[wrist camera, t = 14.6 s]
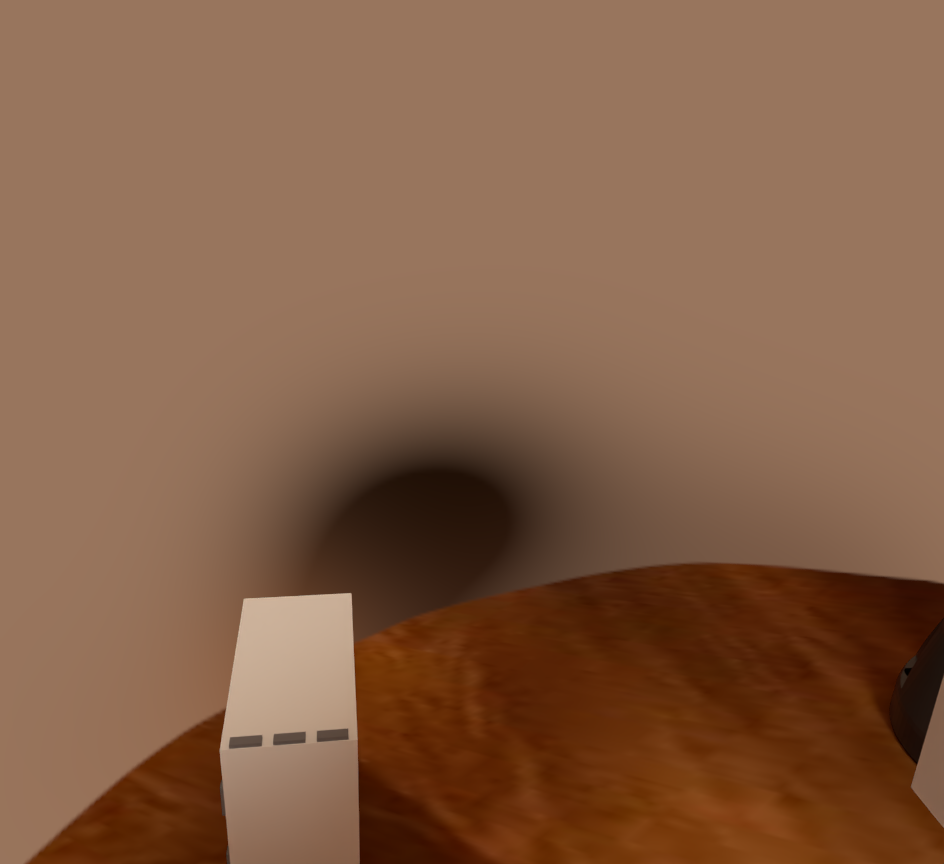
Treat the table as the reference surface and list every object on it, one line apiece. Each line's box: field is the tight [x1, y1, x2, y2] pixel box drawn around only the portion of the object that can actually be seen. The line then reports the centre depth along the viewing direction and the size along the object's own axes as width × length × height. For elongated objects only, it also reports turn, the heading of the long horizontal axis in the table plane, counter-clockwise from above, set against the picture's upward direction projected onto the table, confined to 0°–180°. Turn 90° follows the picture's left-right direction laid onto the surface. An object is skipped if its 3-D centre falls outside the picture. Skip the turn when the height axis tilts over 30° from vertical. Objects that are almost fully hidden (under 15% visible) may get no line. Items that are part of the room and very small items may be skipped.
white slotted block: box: [220, 593, 360, 864], centre depth 46 cm, size 6×12×12 cm, turn 9°
